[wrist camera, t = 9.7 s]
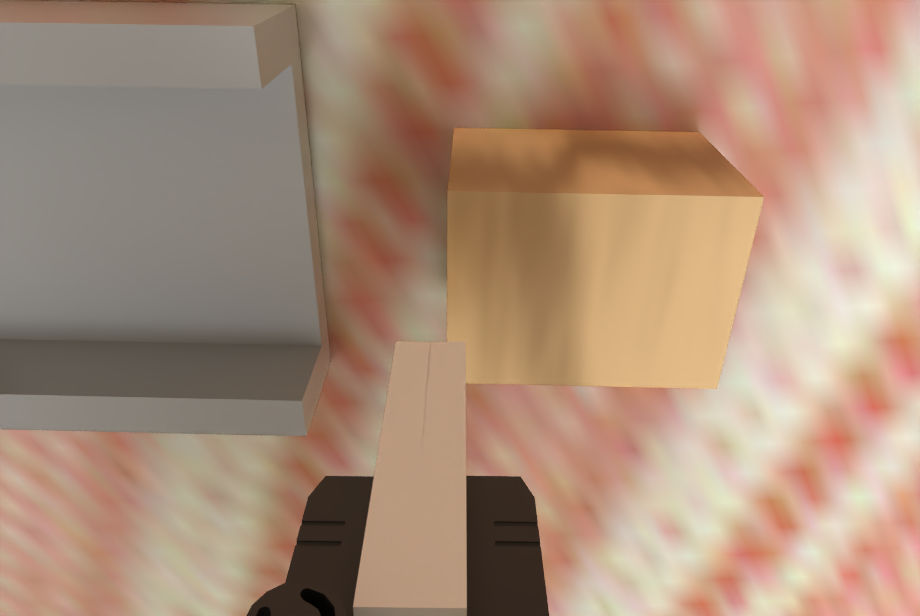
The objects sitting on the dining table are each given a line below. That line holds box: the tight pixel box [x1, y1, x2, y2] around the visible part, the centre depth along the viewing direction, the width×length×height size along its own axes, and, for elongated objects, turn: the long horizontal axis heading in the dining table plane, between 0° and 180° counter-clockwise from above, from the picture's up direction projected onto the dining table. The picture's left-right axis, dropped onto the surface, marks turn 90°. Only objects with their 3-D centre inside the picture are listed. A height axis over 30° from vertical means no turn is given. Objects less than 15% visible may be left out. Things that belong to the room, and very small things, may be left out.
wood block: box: [447, 128, 764, 389], centre depth 22 cm, size 6×6×8 cm
